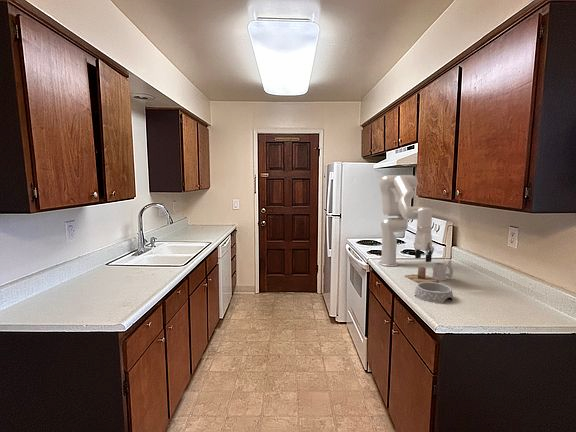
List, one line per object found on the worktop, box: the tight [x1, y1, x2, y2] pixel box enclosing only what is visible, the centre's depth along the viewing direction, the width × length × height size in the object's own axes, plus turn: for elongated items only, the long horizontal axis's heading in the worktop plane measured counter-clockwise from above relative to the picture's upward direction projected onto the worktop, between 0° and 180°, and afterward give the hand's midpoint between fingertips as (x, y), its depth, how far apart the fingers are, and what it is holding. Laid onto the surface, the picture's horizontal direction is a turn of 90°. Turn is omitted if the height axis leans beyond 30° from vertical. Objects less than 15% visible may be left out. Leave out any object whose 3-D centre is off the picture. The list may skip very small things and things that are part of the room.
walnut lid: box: [404, 266, 440, 284], centre depth 194 cm, size 14×12×7 cm
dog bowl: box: [414, 282, 454, 304], centre depth 170 cm, size 17×18×5 cm
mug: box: [431, 259, 454, 282], centre depth 196 cm, size 8×12×12 cm, turn 94°
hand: (423, 259), depth 193 cm, fingers open, 9 cm apart
